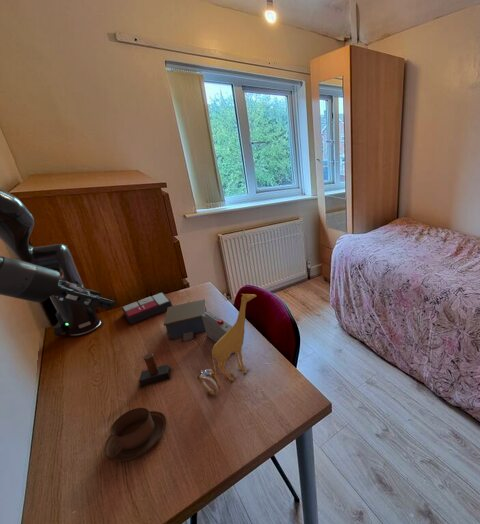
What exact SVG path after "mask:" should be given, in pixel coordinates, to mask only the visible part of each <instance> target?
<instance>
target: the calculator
mask: <svg viewBox="0 0 480 524" xmlns="http://www.w3.org/2000/svg"><path fill="white" fill-rule="evenodd" d="M171 306H173V304H172V302H171V300H170V298H168V296H167V295H166V294H165V293H164V292H159V293H155V294H154V295H152V296H148V297H147V296H146V297H145V298H142V299H140V300H138V301H134V302H132V303H129V304H127V305H124V306H122V308H121V309H122V312H123V314H124V316H125V318H126V319H127V321H128V323H129V325H134V324H136V323H139V322H141V321H143V320H145V319H148V318H150V317H153V316H155V315H158V314H160V313H166V312H167V308H168V307H171Z"/></svg>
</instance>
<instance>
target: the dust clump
mask: <svg viewBox="0 0 480 524" xmlns="http://www.w3.org/2000/svg"><path fill="white" fill-rule="evenodd" d="M182 339H183V342H186V341H189V340H194V333H193V331H192V332H188V333H184V335H183V337H182Z"/></svg>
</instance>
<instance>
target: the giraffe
mask: <svg viewBox="0 0 480 524" xmlns="http://www.w3.org/2000/svg"><path fill="white" fill-rule="evenodd" d="M240 295H241V297H240V300H241V301H240V306H239V307H240V308H239V312H238V315H237V319H236V321H235V323H234V324H233V325H232V326H233V327H232V328H231V329H230V330H229V331H228V332H227V333H226V334H225V335H223V336H222V337H221V338H220V339H219V340H218V342H217V343H216V342H215V343H214V345H212V346H213V347H212V348H211V354H212V356H211V357H212V364H213V368H212V370H213V373H214V374H215V375H216V376H218V372H217V369H218V370H220V371H221V372H222V374H224V376H225V378H228V381H231V382H234V381H235V378H234V377H232V375H231V374H229V373H227V371H226V369H225V365H226V363H227V360H228V359H229V357H230V356H231V355H232V354H231V353H232V352H234V351H235V352H234V357H235V359H236V362H237V368H238V369H239V370H240V371H242V372H243V374H246V373H248V371H247V370H246V369H245V365H244V362H243V354H242V348H243V346H244V339H245V326H246V308H247V303H248V302H250V301H252V300H253V299H255V298H256V297H257V294H254V293H252V294H251V293H240ZM214 359H215V360H217V366H216V365H215V360H214Z"/></svg>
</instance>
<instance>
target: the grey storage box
mask: <svg viewBox="0 0 480 524" xmlns="http://www.w3.org/2000/svg"><path fill="white" fill-rule="evenodd" d="M207 311H208V310H207V306H206V299H199V300H194V301H191V302H189V301H188V302H185V303H181V304H176V305H172V306H171V307H168V308H167V311H166V312H165V317H164V321H163V326H165V328H166V330H167V334H168V336H169V339H170V340H174V339H175V340H176V339H178V338H183V335H184V333H188V332H192V331H193V333H194V334H198V333H203V332H206V331H205V327H204V323H203V320H202V316H201V315H202V314H205V312H207Z"/></svg>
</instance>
